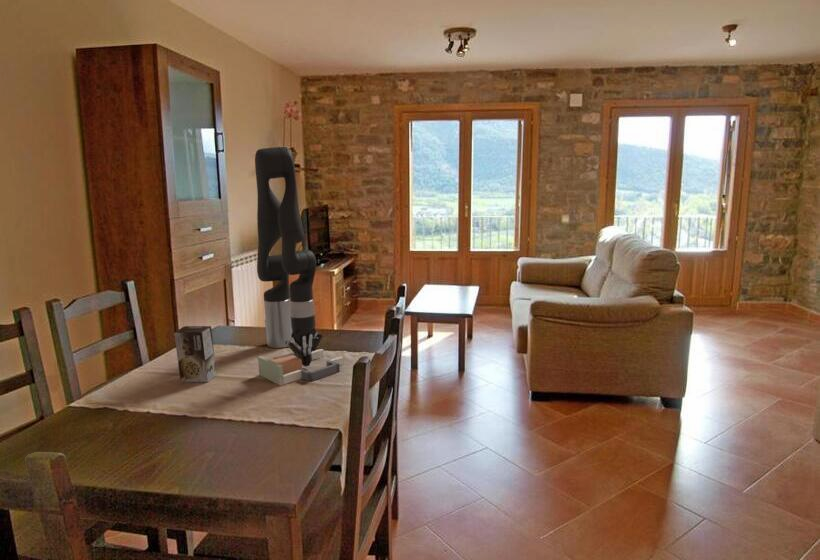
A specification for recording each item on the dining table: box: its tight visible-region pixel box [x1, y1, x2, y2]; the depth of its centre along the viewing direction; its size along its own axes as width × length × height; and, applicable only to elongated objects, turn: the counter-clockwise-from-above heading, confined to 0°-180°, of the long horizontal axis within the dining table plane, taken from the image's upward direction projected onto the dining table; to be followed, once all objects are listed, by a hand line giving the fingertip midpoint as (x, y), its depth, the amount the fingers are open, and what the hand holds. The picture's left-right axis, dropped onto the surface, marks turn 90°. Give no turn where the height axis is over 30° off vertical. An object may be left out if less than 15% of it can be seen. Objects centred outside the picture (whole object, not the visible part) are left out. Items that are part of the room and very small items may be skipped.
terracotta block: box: [270, 355, 303, 375], centre depth 168 cm, size 6×8×4 cm
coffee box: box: [173, 325, 217, 383], centre depth 164 cm, size 9×6×16 cm
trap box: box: [257, 348, 345, 387], centre depth 170 cm, size 20×24×6 cm
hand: (306, 365), depth 171 cm, fingers closed
